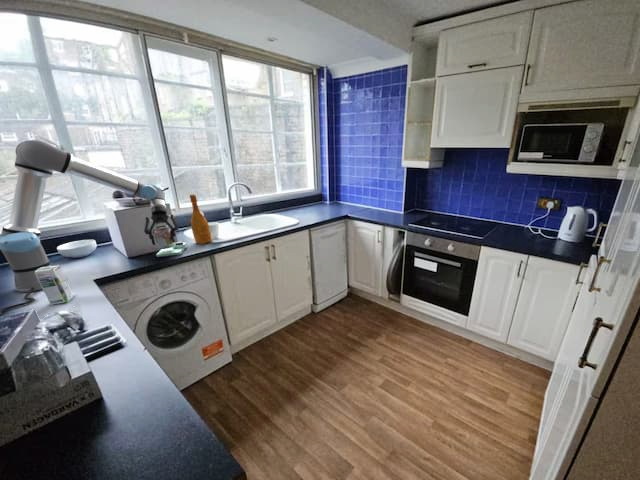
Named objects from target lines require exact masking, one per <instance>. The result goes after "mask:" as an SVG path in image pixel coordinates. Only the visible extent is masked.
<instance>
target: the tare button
mask: <svg viewBox="0 0 640 480" xmlns="http://www.w3.org/2000/svg"><path fill="white" fill-rule="evenodd" d="M183 243H184V242H183V241H180V240H179V241H176V242H174V244H175V245H176V246H177V245H182V244H183Z"/></svg>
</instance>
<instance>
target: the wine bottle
mask: <svg viewBox="0 0 640 480" xmlns="http://www.w3.org/2000/svg"><path fill="white" fill-rule="evenodd" d="M189 200H190V203H191V207H192V214H191V219H190V228H191V231H192V234H193V238H194V241H195V243H196V244H199V245H203V244H208V243H210V242H212V240H213V239H212V233H211V228H210V225H209V223H208V222H209V221H208V220H207V218H206V217H205V213H204V212H203V210H201V209H200V207H199V206H198V199H197V196H196V194H190V195H189Z"/></svg>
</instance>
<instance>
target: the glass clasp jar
mask: <svg viewBox="0 0 640 480" xmlns="http://www.w3.org/2000/svg"><path fill="white" fill-rule="evenodd" d="M152 235H153V236H154V239H155V242H156V244H157V248H158V249H160V250H161V249H168V248H172V247H174V245H175V242H173V241H172V237H171V229H170V228H169V226H168V225H167V224H165V225H164V224H162V225H157V226H156V227H154V229H153V231H152Z"/></svg>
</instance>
